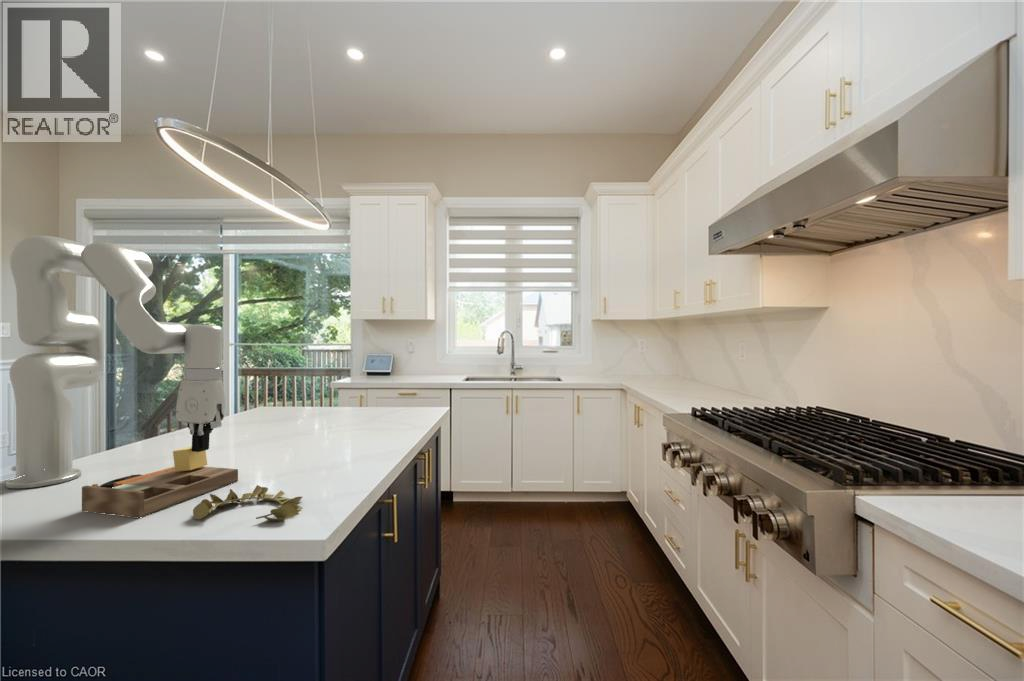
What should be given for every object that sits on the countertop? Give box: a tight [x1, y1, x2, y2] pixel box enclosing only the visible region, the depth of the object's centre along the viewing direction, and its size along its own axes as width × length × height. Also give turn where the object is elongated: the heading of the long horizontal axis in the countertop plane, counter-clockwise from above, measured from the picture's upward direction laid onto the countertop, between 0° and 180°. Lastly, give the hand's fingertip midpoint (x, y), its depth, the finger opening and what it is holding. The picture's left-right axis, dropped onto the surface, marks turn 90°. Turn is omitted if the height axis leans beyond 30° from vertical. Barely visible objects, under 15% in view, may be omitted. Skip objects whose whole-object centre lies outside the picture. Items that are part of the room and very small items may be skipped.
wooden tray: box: [81, 466, 239, 519], centre depth 97 cm, size 15×23×5 cm, turn 167°
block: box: [172, 446, 208, 472], centre depth 106 cm, size 4×4×5 cm
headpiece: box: [192, 484, 303, 522], centre depth 89 cm, size 21×4×15 cm
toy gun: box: [91, 466, 175, 488], centre depth 107 cm, size 15×2×10 cm
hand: (200, 450), depth 105 cm, fingers closed
